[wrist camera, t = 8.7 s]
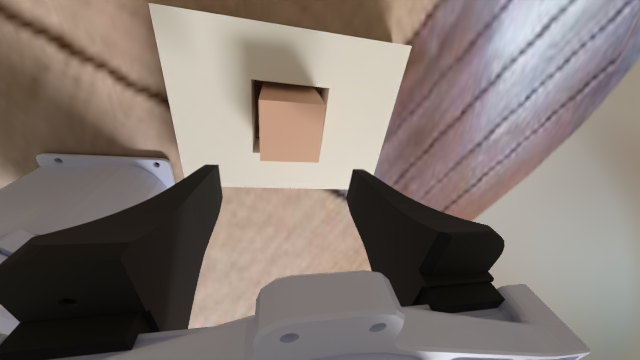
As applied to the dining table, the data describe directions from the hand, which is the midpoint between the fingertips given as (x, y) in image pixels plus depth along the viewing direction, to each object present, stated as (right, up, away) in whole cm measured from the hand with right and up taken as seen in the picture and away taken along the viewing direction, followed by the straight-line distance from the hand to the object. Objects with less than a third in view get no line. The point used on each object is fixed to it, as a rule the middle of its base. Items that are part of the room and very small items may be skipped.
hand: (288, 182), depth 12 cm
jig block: (-1, +6, +7) cm, 9 cm away
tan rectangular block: (-1, +6, +7) cm, 10 cm away
